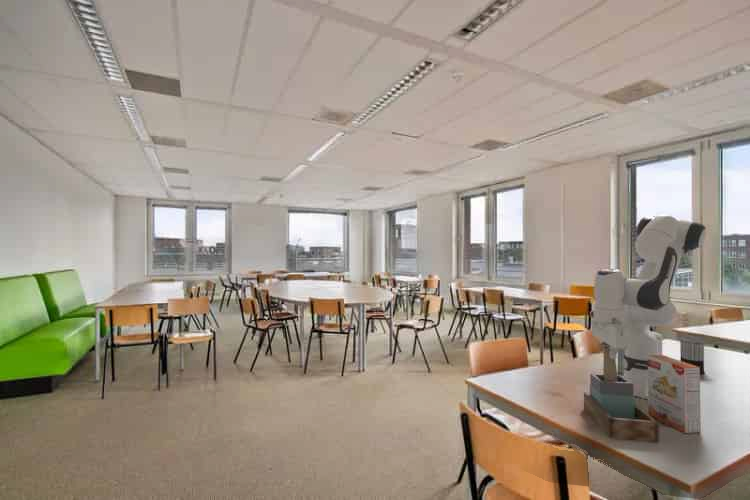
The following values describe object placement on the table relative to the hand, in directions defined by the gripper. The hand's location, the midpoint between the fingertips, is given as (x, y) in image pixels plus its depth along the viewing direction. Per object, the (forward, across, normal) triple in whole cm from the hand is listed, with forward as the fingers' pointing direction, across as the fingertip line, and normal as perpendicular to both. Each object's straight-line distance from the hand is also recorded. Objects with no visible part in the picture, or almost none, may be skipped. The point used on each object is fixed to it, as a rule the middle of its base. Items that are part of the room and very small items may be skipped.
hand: (609, 356), depth 128 cm
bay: (+20, -6, 0) cm, 21 cm away
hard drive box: (+21, +51, -32) cm, 63 cm away
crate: (+19, -1, 0) cm, 19 cm away
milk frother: (+21, +64, -56) cm, 87 cm away
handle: (+11, -1, 0) cm, 11 cm away
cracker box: (+21, -2, -18) cm, 28 cm away
